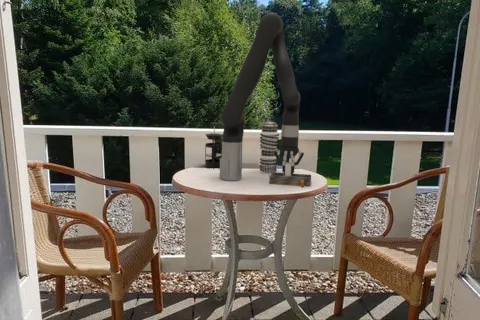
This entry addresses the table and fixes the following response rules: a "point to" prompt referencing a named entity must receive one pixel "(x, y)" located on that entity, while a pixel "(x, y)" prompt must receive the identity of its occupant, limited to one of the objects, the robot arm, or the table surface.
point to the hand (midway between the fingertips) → (288, 173)
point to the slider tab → (288, 169)
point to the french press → (213, 150)
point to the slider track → (290, 179)
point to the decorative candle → (268, 147)
